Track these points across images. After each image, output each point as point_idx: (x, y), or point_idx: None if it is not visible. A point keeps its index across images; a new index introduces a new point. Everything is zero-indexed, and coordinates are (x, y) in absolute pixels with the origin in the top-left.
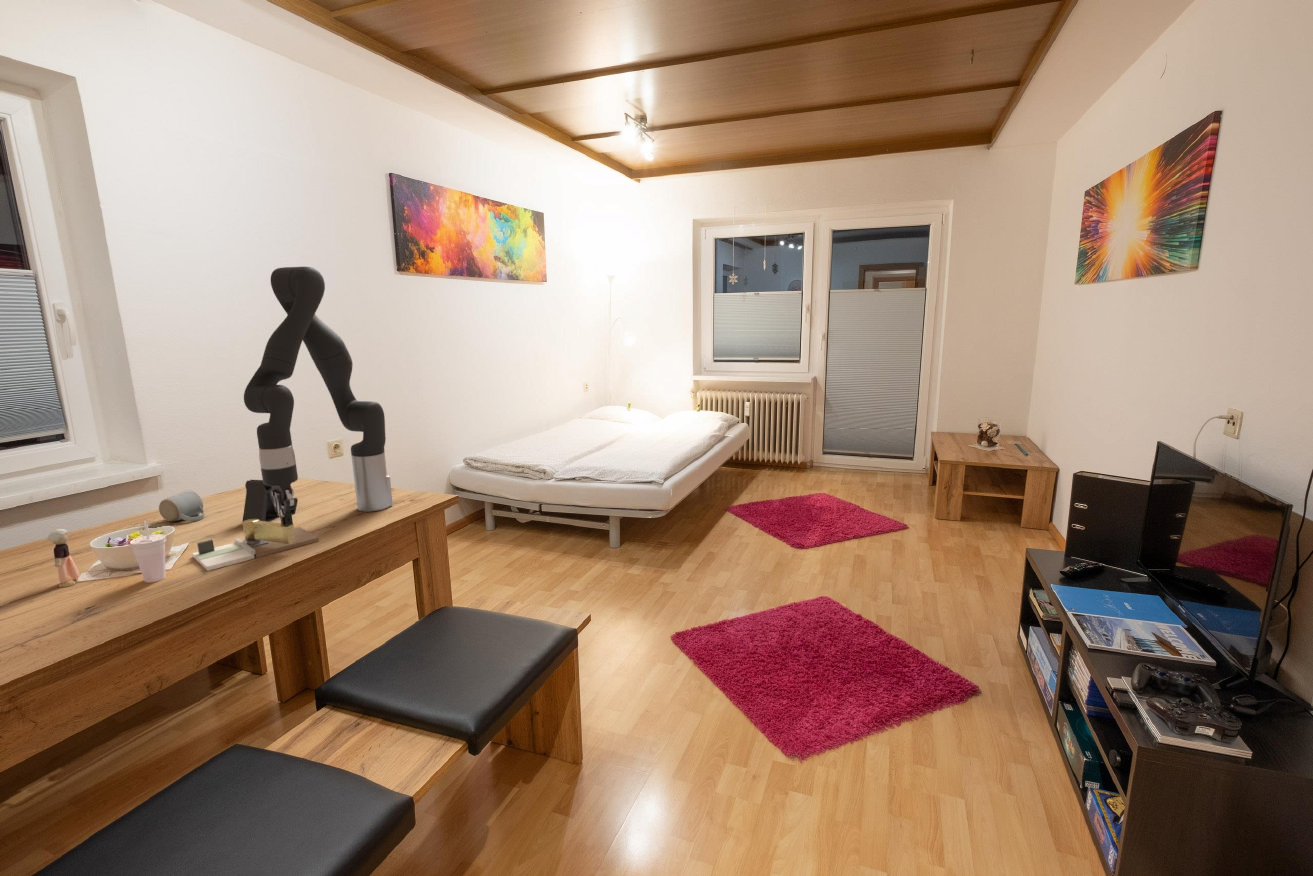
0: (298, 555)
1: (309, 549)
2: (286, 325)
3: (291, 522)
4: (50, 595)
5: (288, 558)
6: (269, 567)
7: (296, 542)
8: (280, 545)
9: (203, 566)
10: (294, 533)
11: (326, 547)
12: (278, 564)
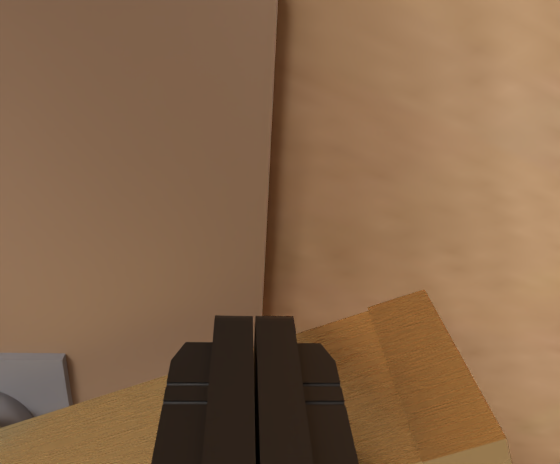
0: (481, 257)
1: (431, 145)
2: None
3: (342, 407)
4: None
5: (470, 322)
6: (508, 438)
7: (244, 197)
8: (209, 312)
9: None
10: (453, 346)
11: (537, 11)
12: (514, 394)
